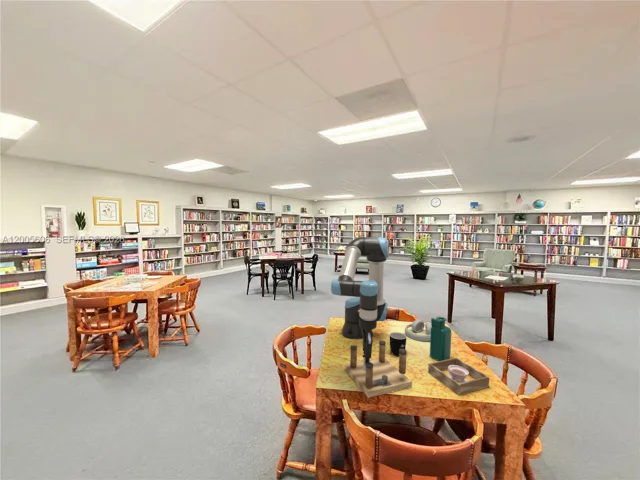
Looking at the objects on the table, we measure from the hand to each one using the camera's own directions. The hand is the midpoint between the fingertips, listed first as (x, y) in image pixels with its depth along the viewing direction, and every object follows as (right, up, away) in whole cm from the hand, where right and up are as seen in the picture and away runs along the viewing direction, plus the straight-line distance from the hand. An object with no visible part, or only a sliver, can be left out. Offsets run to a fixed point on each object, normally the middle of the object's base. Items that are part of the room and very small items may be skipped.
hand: (366, 370), depth 113 cm
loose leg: (+16, -2, +2) cm, 17 cm away
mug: (+24, -6, +32) cm, 40 cm away
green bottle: (+44, -7, +26) cm, 52 cm away
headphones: (+45, -5, +55) cm, 71 cm away
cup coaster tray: (+43, -8, +7) cm, 45 cm away
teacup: (+42, -8, +4) cm, 43 cm away
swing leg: (+4, -5, -2) cm, 7 cm away
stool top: (+6, -7, +7) cm, 12 cm away
